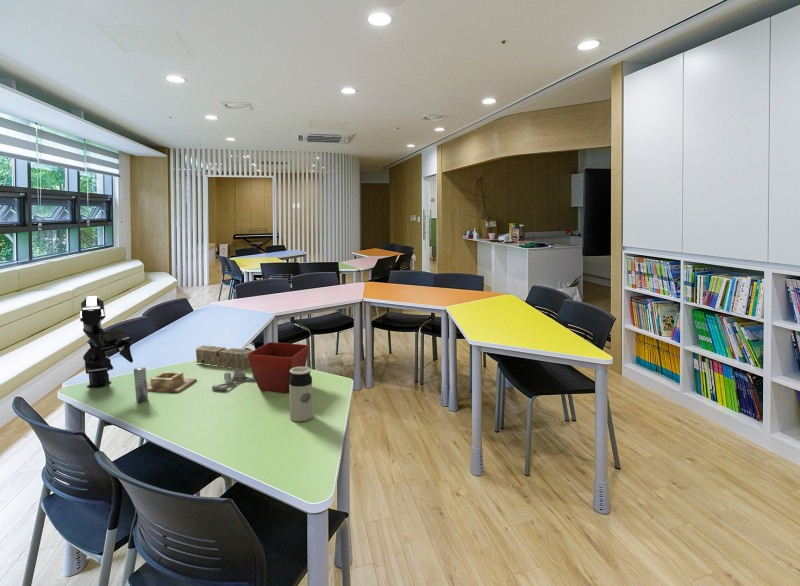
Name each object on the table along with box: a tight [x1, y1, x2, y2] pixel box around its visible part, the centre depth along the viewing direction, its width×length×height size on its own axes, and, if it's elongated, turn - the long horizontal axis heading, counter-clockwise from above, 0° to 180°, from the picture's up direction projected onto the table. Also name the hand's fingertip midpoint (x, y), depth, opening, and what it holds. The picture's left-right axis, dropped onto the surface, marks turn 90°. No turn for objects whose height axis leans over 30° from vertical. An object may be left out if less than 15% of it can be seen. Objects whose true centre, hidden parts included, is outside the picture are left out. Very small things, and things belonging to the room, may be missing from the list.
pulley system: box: [211, 370, 256, 391], centre depth 205 cm, size 27×5×15 cm
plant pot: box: [248, 341, 310, 394], centre depth 197 cm, size 19×19×17 cm
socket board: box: [147, 371, 198, 393], centre depth 199 cm, size 18×14×4 cm
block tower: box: [195, 344, 255, 370], centre depth 228 cm, size 8×8×29 cm
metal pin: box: [133, 366, 149, 404], centre depth 182 cm, size 4×4×13 cm
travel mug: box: [289, 366, 314, 423], centre depth 168 cm, size 8×8×18 cm
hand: (122, 365), depth 183 cm, fingers open, 9 cm apart
